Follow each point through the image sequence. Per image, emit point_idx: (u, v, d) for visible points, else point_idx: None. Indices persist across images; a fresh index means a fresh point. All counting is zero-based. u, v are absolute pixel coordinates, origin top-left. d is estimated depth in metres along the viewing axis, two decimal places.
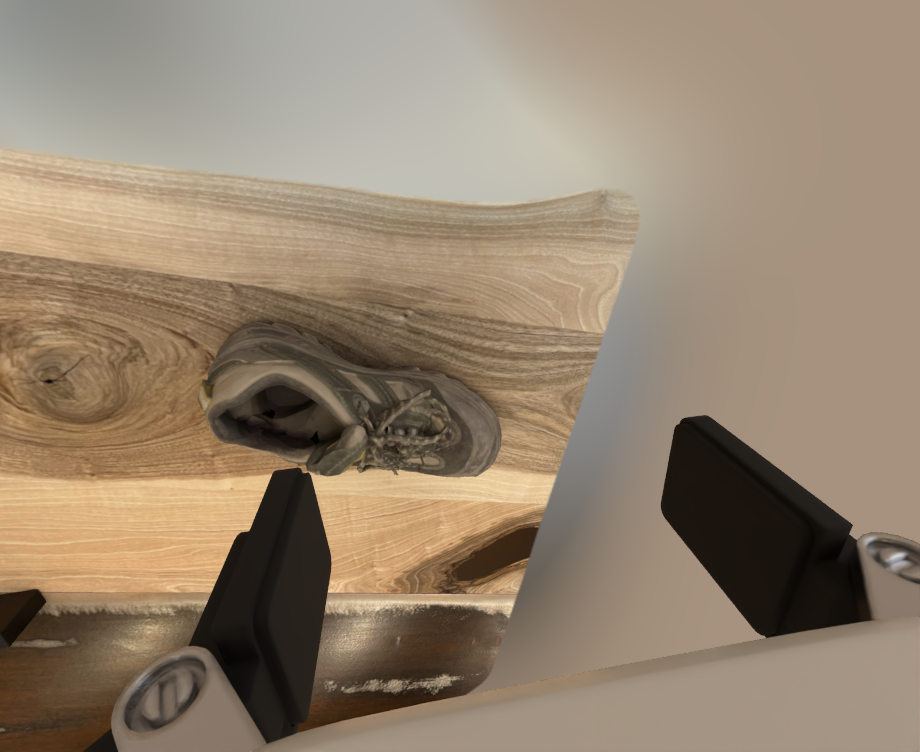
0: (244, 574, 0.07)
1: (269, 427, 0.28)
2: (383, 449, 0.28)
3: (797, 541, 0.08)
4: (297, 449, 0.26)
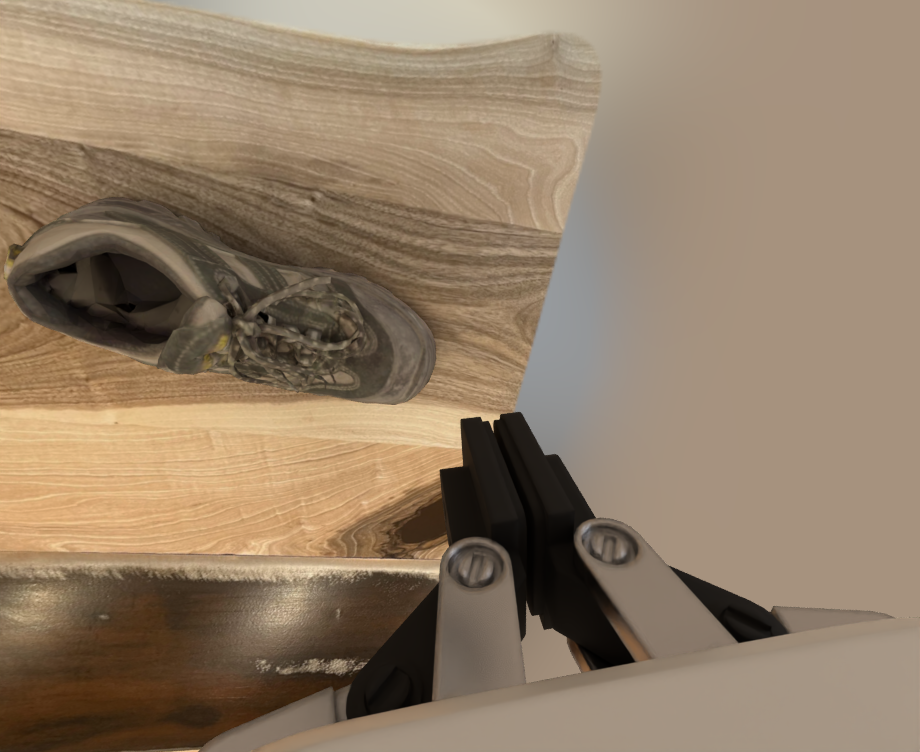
0: (491, 488, 0.09)
1: (123, 322, 0.22)
2: (270, 352, 0.22)
3: (534, 526, 0.08)
4: (151, 344, 0.20)
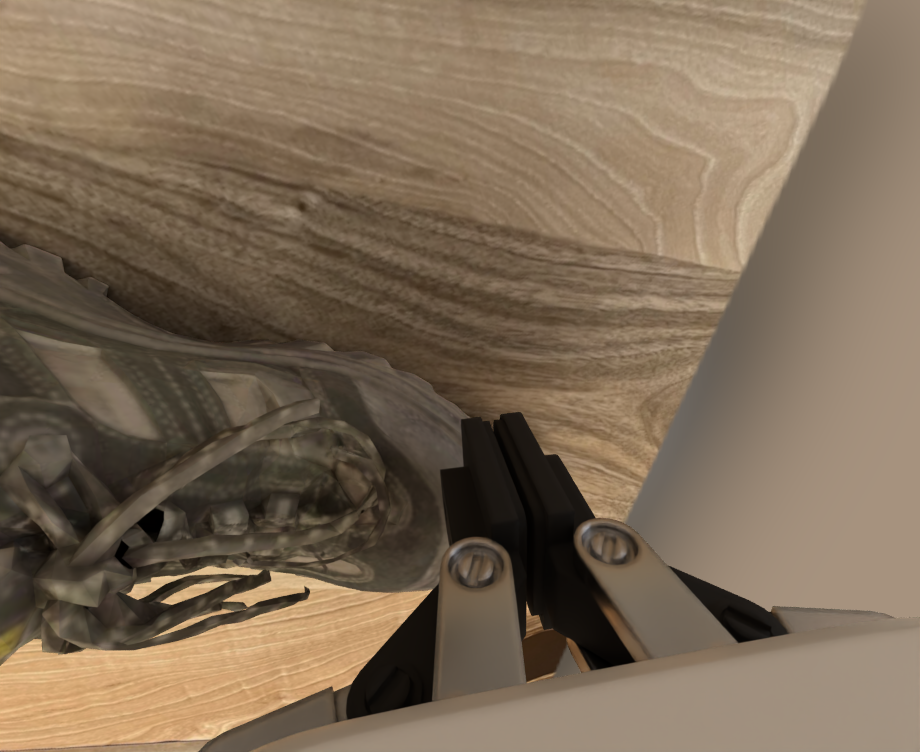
0: (491, 488, 0.09)
1: None
2: (182, 564, 0.10)
3: (534, 526, 0.08)
4: None
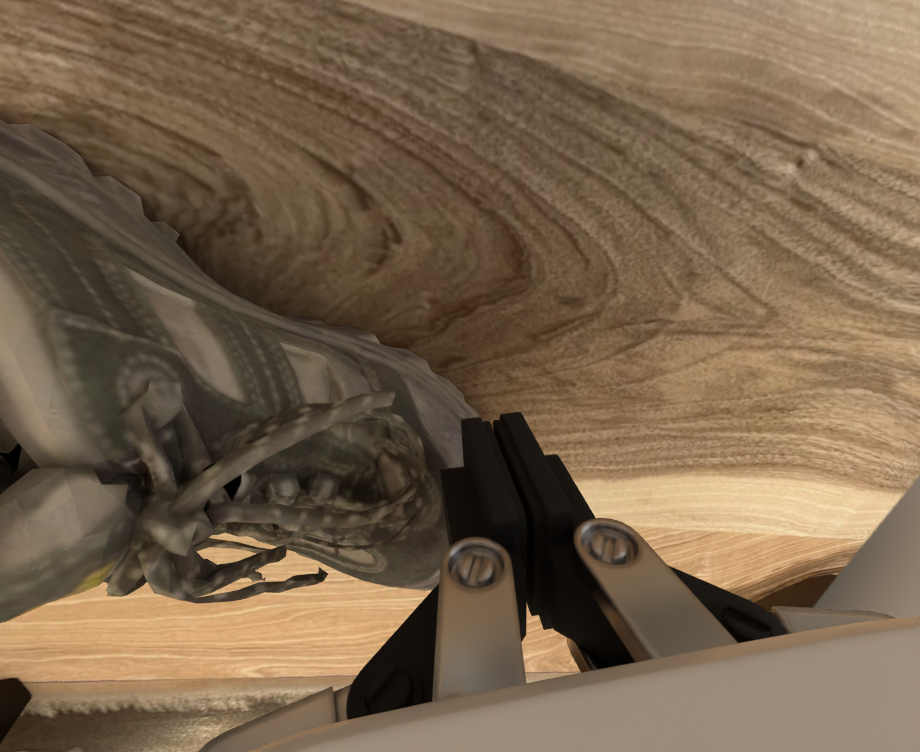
0: (491, 488, 0.09)
1: None
2: (227, 526, 0.10)
3: (534, 526, 0.08)
4: None
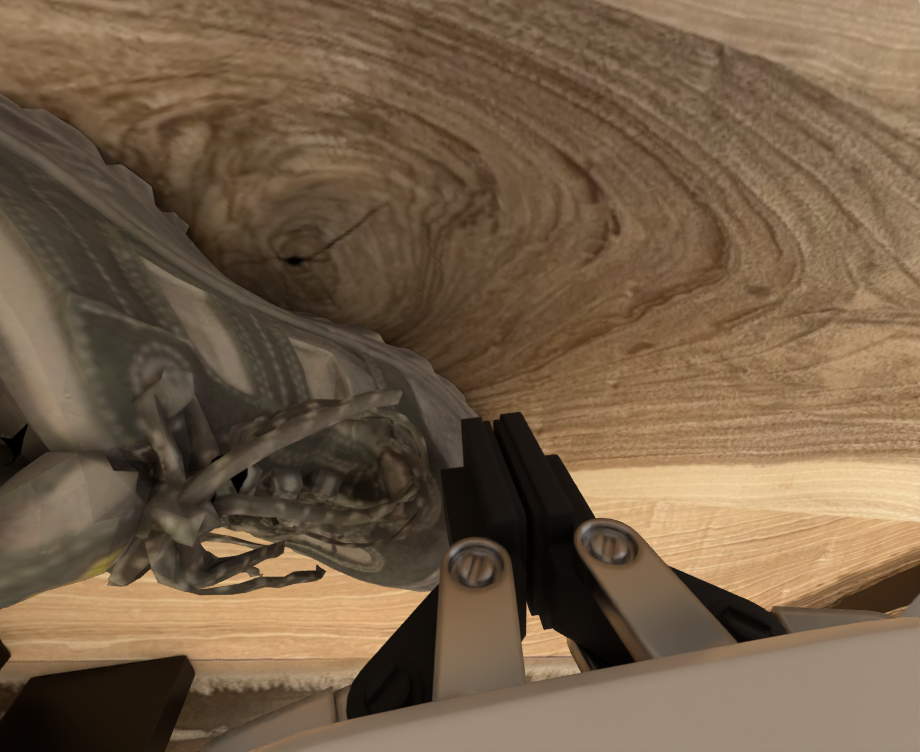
0: (491, 488, 0.09)
1: None
2: (228, 519, 0.10)
3: (534, 527, 0.08)
4: None
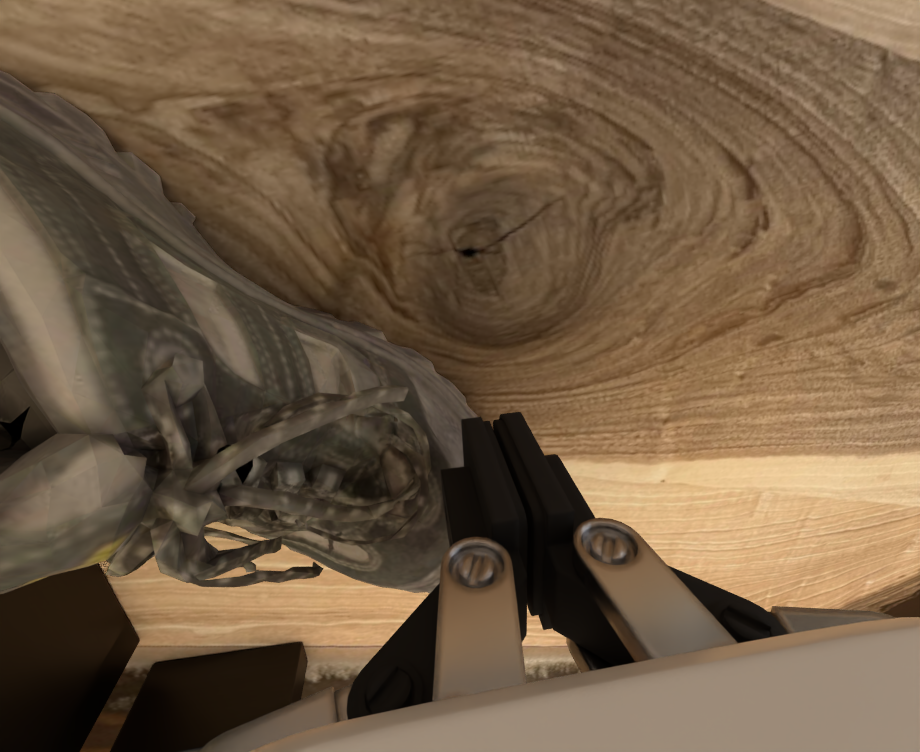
0: (492, 488, 0.09)
1: None
2: (228, 512, 0.10)
3: (534, 526, 0.08)
4: None
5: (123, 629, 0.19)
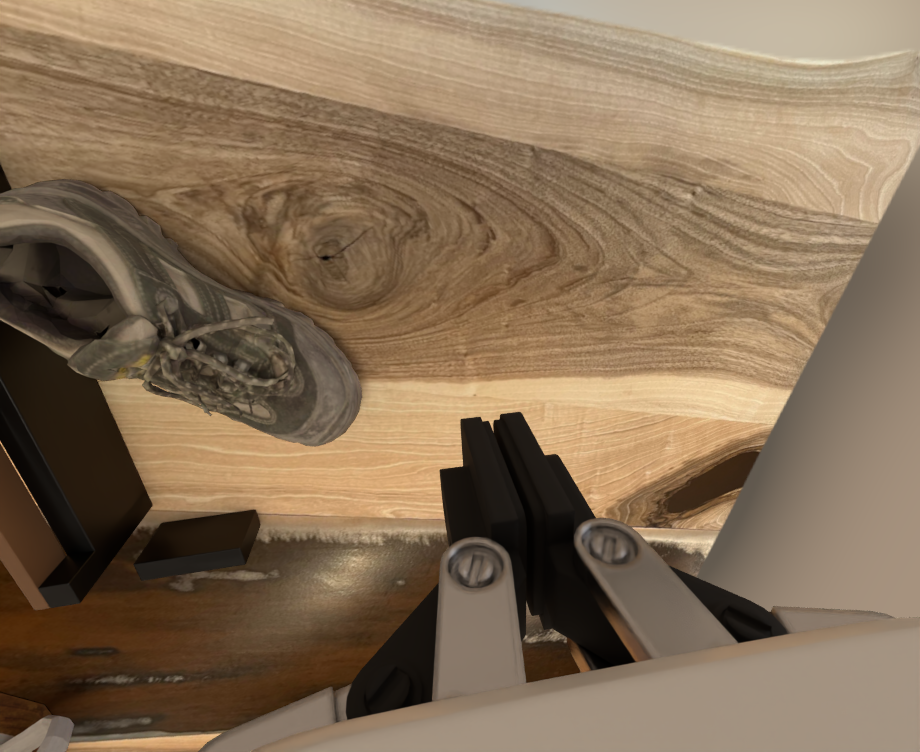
0: (491, 488, 0.09)
1: (47, 306, 0.21)
2: (193, 373, 0.22)
3: (535, 526, 0.08)
4: (68, 338, 0.20)
5: (142, 494, 0.31)
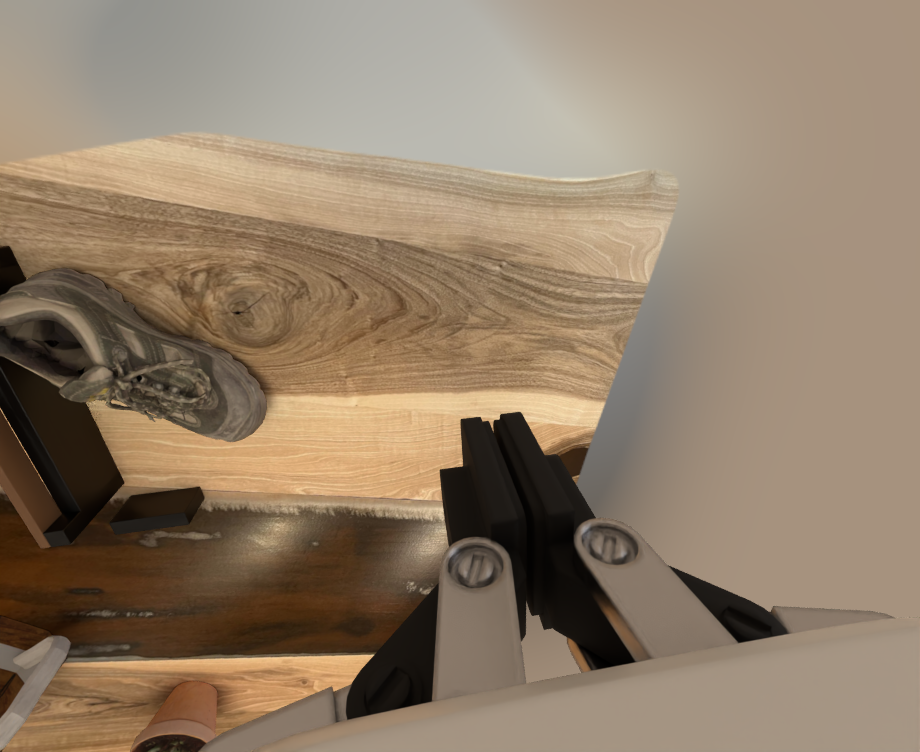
0: (491, 488, 0.09)
1: (46, 354, 0.34)
2: (140, 396, 0.35)
3: (534, 526, 0.08)
4: (60, 375, 0.33)
5: (116, 474, 0.44)
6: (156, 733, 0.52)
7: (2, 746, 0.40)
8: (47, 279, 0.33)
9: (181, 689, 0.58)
